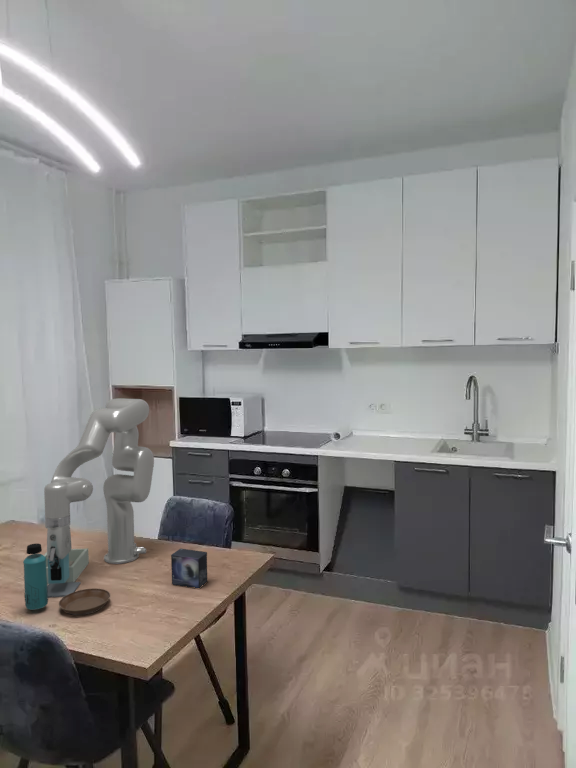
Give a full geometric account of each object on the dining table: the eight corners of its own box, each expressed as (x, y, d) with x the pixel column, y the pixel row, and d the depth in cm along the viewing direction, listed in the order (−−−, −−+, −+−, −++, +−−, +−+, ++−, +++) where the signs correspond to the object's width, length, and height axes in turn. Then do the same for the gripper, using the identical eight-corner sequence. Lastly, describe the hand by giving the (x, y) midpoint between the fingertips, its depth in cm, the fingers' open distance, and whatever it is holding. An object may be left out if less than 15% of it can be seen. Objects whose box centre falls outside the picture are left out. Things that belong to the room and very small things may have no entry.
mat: (80, 583, 187) (80, 581, 187) (71, 596, 177) (71, 594, 177) (49, 584, 186) (49, 583, 186) (38, 597, 176) (38, 596, 176)
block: (69, 576, 184) (68, 553, 183) (64, 583, 179) (63, 558, 178) (53, 577, 183) (53, 553, 183) (48, 583, 178) (47, 559, 178)
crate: (88, 563, 205) (88, 548, 205) (73, 583, 187) (72, 567, 187) (49, 564, 204) (49, 549, 204) (30, 584, 186) (29, 568, 186)
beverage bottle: (53, 606, 170) (51, 542, 169) (37, 616, 164) (34, 549, 163) (36, 603, 172) (34, 540, 171) (19, 613, 166) (17, 547, 165)
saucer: (65, 623, 160) (64, 614, 160) (54, 604, 172) (54, 596, 172) (116, 609, 168) (116, 601, 168) (103, 592, 180) (102, 584, 180)
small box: (170, 585, 185) (169, 554, 184) (180, 577, 191) (180, 547, 190) (198, 589, 181) (198, 558, 180) (208, 582, 187) (207, 551, 187)
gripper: (60, 528, 172) (62, 586, 173) (77, 513, 189) (79, 566, 190) (35, 529, 171) (37, 587, 172) (54, 514, 188) (56, 567, 189)
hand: (59, 575), depth 181 cm, fingers closed on block, 5 cm apart
